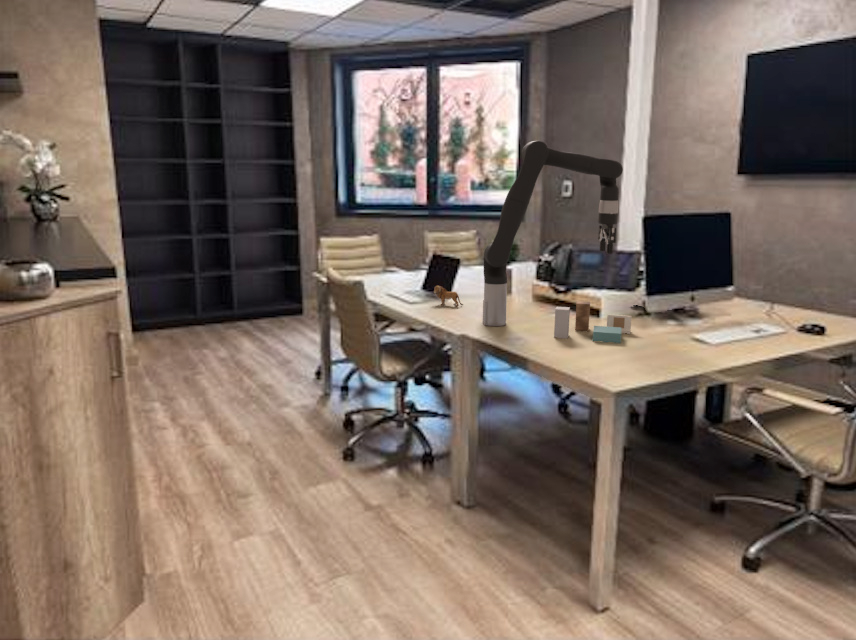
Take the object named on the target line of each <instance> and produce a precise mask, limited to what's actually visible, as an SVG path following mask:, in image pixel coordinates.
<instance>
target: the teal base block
mask: <svg viewBox="0 0 856 640" xmlns="http://www.w3.org/2000/svg"><path fill="white" fill-rule="evenodd" d="M594 341H603V342H602V343H608V342H614V343H613V344H621V342H622V333H621V327H607V325H606V326H605V325H604V326H602V325H594V326H593V331H592V342H594Z"/></svg>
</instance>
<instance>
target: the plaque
mask: <svg viewBox="0 0 856 640" xmlns="http://www.w3.org/2000/svg"><path fill="white" fill-rule="evenodd" d="M606 317H607V319H606V327H621V334H625V333H627V335H631V329H632V328H631V326H632V315H624V314H623V315H621V314H607V316H606Z"/></svg>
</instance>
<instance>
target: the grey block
mask: <svg viewBox="0 0 856 640" xmlns="http://www.w3.org/2000/svg"><path fill="white" fill-rule="evenodd" d="M570 311H571V307H570V306H569V307H568V306H556V307H555V309H554V329H553V338H554V337H558V338H559V339H569V333H570V332H569V331H570V315H571V314H570V313H571V312H570ZM558 338H557V339H558Z"/></svg>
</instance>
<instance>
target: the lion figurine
mask: <svg viewBox="0 0 856 640" xmlns="http://www.w3.org/2000/svg"><path fill="white" fill-rule="evenodd" d="M433 294H434V295H435V296H436V297H437V298H438V299H440V301H441V304H440V306H444V304H446V300H452V301H453V302H454V303H453V305H454V306H455V307H457V308H458V307H459V304H460V306H464V304H463V303H461V301H460V297H459V294H458V292H456V291H448V290H447V289H446V288H444V287H443V286H441V285H435V286H434V290H433Z"/></svg>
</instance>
